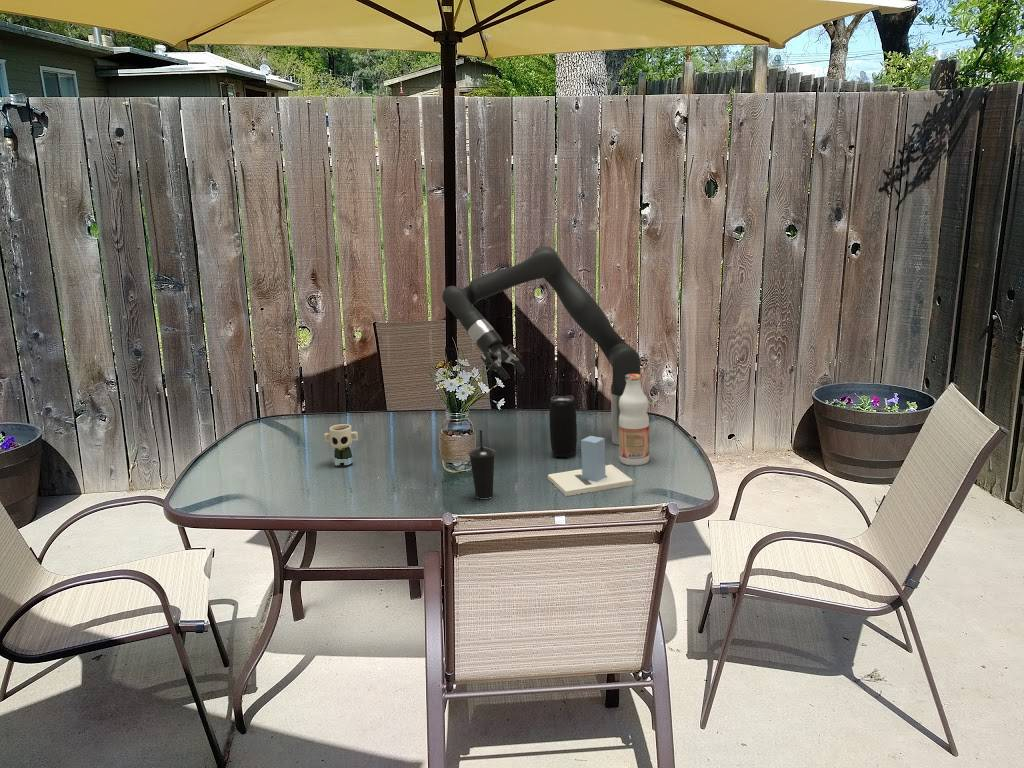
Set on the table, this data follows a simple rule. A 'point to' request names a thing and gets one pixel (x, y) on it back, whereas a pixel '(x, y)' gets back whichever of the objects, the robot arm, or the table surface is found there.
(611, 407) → the robot arm
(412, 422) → the table surface
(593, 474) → the slate pillar
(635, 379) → the fruit juice
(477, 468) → the drinking cup
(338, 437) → the character mug
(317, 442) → the table surface
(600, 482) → the letter board
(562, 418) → the portable speaker
